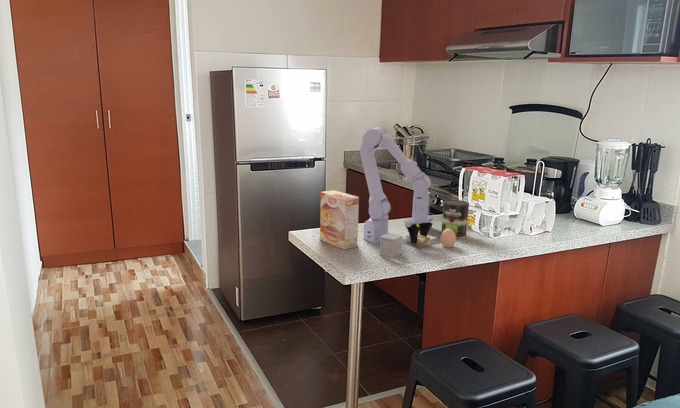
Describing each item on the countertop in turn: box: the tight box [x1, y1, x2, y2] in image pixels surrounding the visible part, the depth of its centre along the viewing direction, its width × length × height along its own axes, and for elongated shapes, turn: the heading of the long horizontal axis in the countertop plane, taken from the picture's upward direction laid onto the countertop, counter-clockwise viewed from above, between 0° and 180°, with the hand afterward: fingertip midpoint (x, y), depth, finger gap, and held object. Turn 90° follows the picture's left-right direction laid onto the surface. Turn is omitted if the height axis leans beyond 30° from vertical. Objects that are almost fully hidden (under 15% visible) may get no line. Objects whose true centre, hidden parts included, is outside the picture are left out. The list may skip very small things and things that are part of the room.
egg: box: [439, 228, 457, 248], centre depth 197 cm, size 6×6×8 cm
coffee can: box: [440, 199, 470, 239], centre depth 213 cm, size 10×10×14 cm
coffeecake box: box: [319, 189, 360, 250], centre depth 198 cm, size 15×7×20 cm, turn 40°
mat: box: [402, 233, 441, 250], centre depth 204 cm, size 18×12×1 cm, turn 131°
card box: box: [406, 233, 431, 249], centre depth 200 cm, size 4×8×3 cm, turn 41°
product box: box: [379, 232, 404, 260], centre depth 188 cm, size 6×6×7 cm
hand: (418, 241), depth 200 cm, fingers open, 5 cm apart
